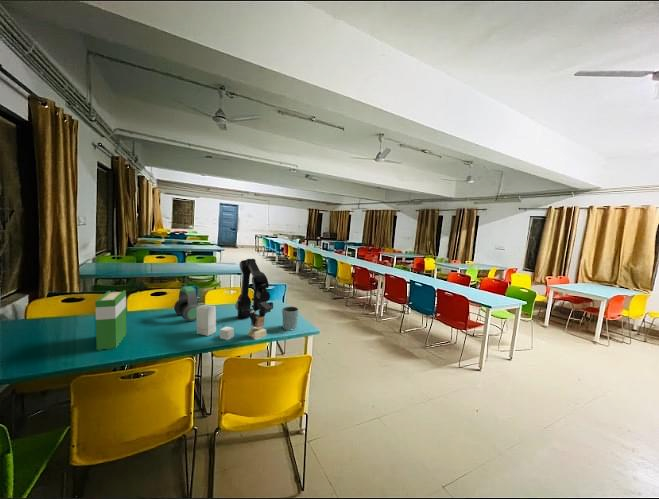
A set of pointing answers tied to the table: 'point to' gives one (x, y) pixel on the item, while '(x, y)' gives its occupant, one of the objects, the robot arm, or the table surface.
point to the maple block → (257, 332)
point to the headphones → (187, 304)
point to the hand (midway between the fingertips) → (257, 323)
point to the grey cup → (290, 317)
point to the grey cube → (226, 333)
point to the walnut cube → (258, 321)
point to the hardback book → (110, 319)
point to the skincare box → (206, 319)
